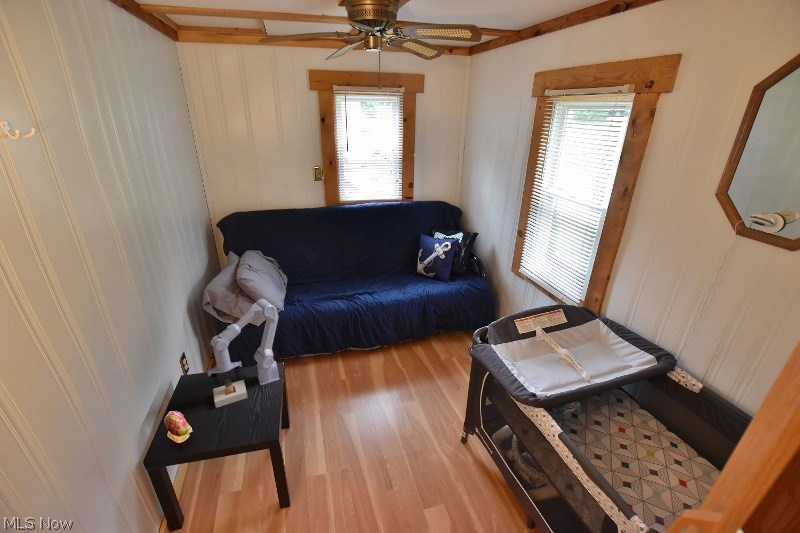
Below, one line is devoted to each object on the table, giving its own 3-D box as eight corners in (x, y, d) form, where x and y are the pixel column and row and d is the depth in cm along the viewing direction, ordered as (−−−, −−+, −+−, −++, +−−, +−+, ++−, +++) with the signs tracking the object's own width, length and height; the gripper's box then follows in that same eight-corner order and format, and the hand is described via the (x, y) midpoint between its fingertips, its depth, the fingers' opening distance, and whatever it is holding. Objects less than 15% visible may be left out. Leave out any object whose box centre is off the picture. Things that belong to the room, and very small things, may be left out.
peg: (235, 393, 181) (232, 378, 178) (233, 398, 178) (230, 383, 175) (228, 394, 181) (224, 379, 177) (226, 399, 178) (223, 384, 174)
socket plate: (244, 385, 187) (243, 379, 185) (247, 397, 179) (246, 392, 177) (214, 394, 180) (213, 388, 179) (216, 407, 172) (214, 402, 171)
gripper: (238, 350, 177) (242, 372, 183) (205, 359, 171) (210, 382, 176) (240, 358, 172) (245, 381, 177) (206, 367, 165) (211, 391, 170)
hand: (228, 382), depth 176 cm, fingers open, 7 cm apart
